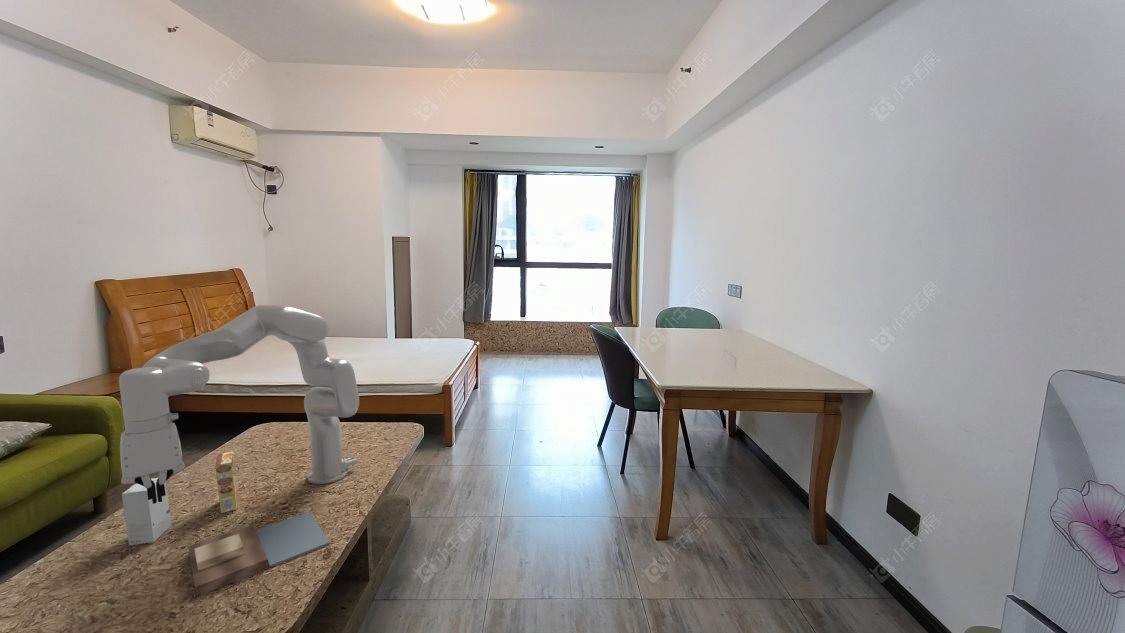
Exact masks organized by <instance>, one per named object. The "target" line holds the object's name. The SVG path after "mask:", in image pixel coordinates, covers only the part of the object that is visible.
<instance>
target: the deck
mask: <svg viewBox="0 0 1125 633" xmlns="http://www.w3.org/2000/svg"><path fill="white" fill-rule="evenodd" d="M256 530H257V529H256V527H255V525H254V524H251V525H248V526H245V527H241V528H239V529H236V530H232V531H228V532H227V533H223V534H220V535H217V536H214V537H212V538H208V539H205V540H202V541H199V542H195V543H193V544H190V545H188V546H187V548H188V555H189V556H188V557H189V562H190V569H191V574H192V579H193V585H194V591H195V595H196V597H199V596H201V595H205V594H206V593H210V592H211V591H214V590H217V589H220V588H222V587H225V586H227V585H229V584H232V583H236V582H237V581H240V580H242V579H245V578H247V577H250V576H253V575H255V574H257V573H261V572H262V571H265V570H268V569H269V568H270V566H269V564H268V558H267V556H266V553H265V551H264V549H263V546H262V544H261V542H260V539H259V537H258V534H257V532H256ZM236 534H239V536H240V539H241V542H242V544H243V549H244V554H243V555H240V556H237V557H235V558H232V559H229V560H226V561H224V562H221V563H218V564H215V565H213V566H210V567H207V568H204V569H202V570H199V571H198V567H197V562H196V557H195V548H198V547H201V546H204V545H207V544H210V543H213V542H216V541H218V540H221V539H224V538H227V537H230V536H233V535H236Z"/></svg>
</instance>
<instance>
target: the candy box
mask: <svg viewBox="0 0 1125 633" xmlns="http://www.w3.org/2000/svg"><path fill="white" fill-rule="evenodd" d="M216 456H217V457H216V460H215V465H214V467H215V473H216V482H217V492H218V499H219V509H220V514H224V513H228V512H232V511H236V510H238V502H239V493H238V484H237V475H236V466H235V457H234V451H228V452H222V453H218V454H217V455H216Z"/></svg>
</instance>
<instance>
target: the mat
mask: <svg viewBox="0 0 1125 633" xmlns="http://www.w3.org/2000/svg"><path fill="white" fill-rule="evenodd" d="M255 530H256V532H257V534H258V537H259V539H260V542H261V544H262V546H263V549H264V551H265V553H266V556H267V558H268V567H269V568H273V567H275V566H278V565H280V564H282V563H286V562H288V561H291V560H293V559H296V558H298V557H301V556H303V555H306V554H308V553H311V552H313V551H314V552H315V551H317V550H319V549H321V548H325V547H326V546H328V545H331V544H330V541H329V538H328V537H327V536H326V534H325V533H324V532H323V530H322V528H321V527H320V525H319V524H318V522H317V521H316V518H315V517H314V515H313V514H312V513H311V511H309V512H305V513H303V514H299V515H296V516H293V517H290V518H288V519H285V520H282V521H279V522H275V523H272V524H270V525H267V526H264V527H261V528H258V529H255Z"/></svg>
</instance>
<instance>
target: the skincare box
mask: <svg viewBox="0 0 1125 633" xmlns="http://www.w3.org/2000/svg"><path fill="white" fill-rule="evenodd" d="M157 479H158V477H156V478H151V480H153V482H154V483H155V488H156V482H157ZM164 485H165V493H166V496H162V502H158V497H157V502H156V503H155V504H153V501H152V499H151V500H148V494H147V488H145V487H144V486H142V485H139V484H137V483H134V484H133V485H131V486H130V487H129V488H128V489H127V490H125V491H124V492H122V493H121V496H122V506H123V511H124V513H123V514H124V519H125V525H126V533H127V541H128V546H134V545H144V544H143V543H148V544H154V543H155V542H156V541H157V540H158V539H159V538H160V537H161V536H162V535H163V534H164V533H165V532H166V531H168V530H169V529H170V528H171V527H172V517H171V512H170V504H169V496H168V488H167V482H166V483H165V484H164ZM156 496H157V489H156Z"/></svg>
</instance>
